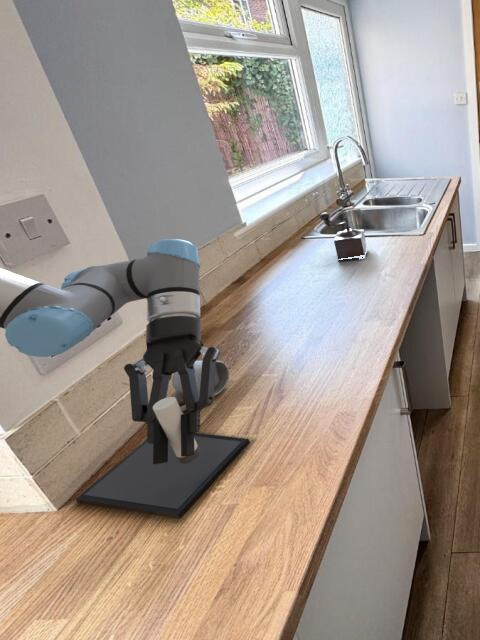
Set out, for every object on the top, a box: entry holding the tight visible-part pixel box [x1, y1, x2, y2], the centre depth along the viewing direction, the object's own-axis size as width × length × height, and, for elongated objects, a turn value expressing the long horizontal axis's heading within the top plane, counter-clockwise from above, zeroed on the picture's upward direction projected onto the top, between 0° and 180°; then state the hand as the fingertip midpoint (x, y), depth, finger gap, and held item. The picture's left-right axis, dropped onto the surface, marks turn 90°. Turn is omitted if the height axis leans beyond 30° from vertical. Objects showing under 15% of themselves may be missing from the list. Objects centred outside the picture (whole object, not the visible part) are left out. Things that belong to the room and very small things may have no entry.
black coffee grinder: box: [319, 211, 368, 263], centre depth 159 cm, size 16×11×18 cm
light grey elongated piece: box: [153, 396, 200, 464], centre depth 68 cm, size 3×3×12 cm
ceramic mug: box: [171, 360, 230, 412], centre depth 89 cm, size 11×8×8 cm
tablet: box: [75, 432, 250, 520], centre depth 73 cm, size 20×15×1 cm
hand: (174, 458), depth 65 cm, fingers closed on light grey elongated piece, 3 cm apart
